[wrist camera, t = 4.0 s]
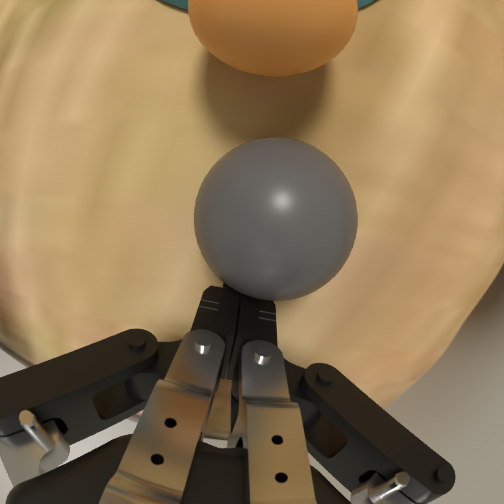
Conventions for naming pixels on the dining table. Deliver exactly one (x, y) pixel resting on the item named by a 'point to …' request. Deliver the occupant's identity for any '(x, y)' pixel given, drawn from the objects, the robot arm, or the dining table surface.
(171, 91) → the dining table surface
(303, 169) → the grey rubber ball
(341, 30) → the orange ball
